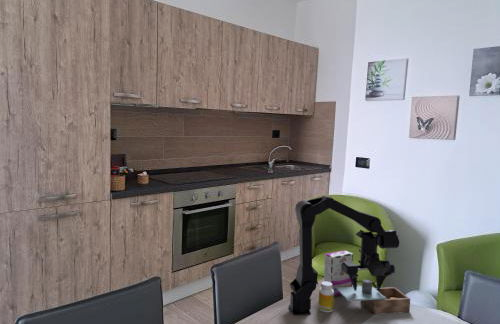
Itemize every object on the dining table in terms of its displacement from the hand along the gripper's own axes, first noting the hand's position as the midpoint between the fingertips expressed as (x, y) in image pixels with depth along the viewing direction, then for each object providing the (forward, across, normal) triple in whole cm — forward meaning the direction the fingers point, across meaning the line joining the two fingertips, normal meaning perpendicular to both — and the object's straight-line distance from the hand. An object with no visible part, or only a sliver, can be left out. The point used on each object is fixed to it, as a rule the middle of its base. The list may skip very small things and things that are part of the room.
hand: (366, 289), depth 130 cm
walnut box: (+7, +8, 0) cm, 10 cm away
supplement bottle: (+7, -16, 0) cm, 17 cm away
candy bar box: (+7, -6, +13) cm, 16 cm away
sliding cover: (+2, -2, 0) cm, 3 cm away
